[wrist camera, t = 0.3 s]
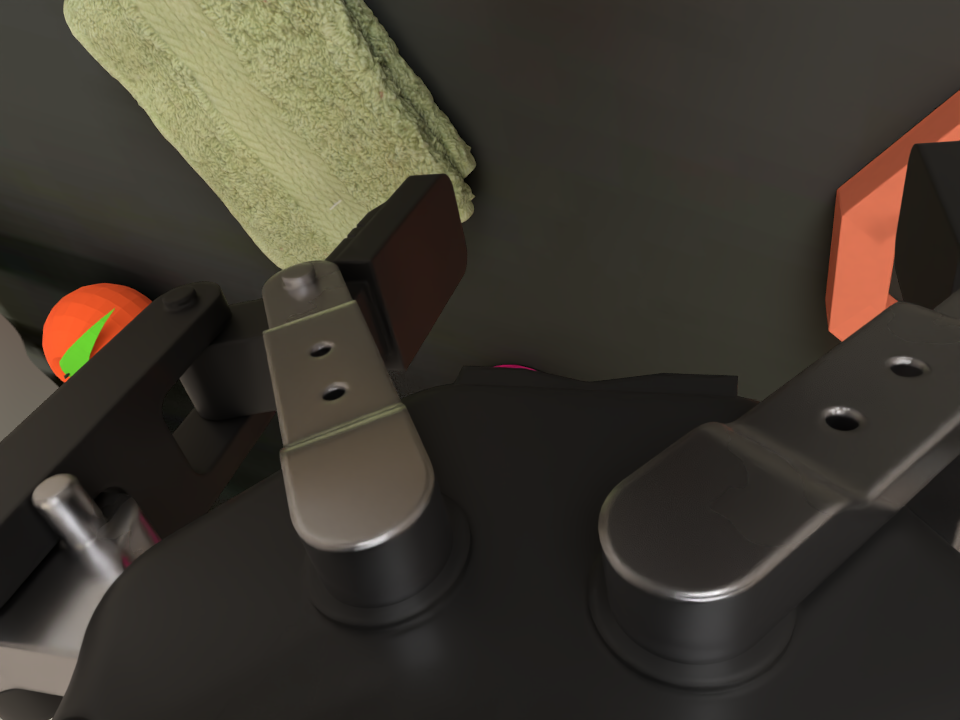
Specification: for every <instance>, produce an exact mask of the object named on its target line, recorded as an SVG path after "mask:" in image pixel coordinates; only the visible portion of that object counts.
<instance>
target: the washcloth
mask: <svg viewBox="0 0 960 720" xmlns="http://www.w3.org/2000/svg"><path fill="white" fill-rule="evenodd" d="M63 9H64V16H65V19H66V22H67V24H68V26H69V28H70V30H71V31H72V34H73V35H74V36H75V38H76V39H78V40H79V42H80V43H81V44H82V45H83V46H84V47H85V49H86V50H87V51H88V52H89V53H90V54H91V55H92V56H93V57H94V58H95V59H96V60H97V61H98V62H99V63H100V65H101V66H102V67H103V68H104V69H106V70H107V71H108V72H109V74H110V75H111V76H113V77H114V78H115V79H117V80H118V81H119V82H120V83H121V84H122V85H123V86H124V87H125V88H126V89H127V90H128V91H129V92H130V93H131V94H132V96H133V98H134V99H136V100H137V102H138V105H140V106H141V107H142V108H143V109H144V110H145V111H146V112H147V114H148V115H149V117H150V118H151V120H152V121H153V123H154V125H155V126H156V127H157V128H158V130H159V131H160V132H161V134H162V135H163V136H164V137H165V138H166V139H167V140H168V141H169V142H170V143H171V144H172V145H173V146H174V147H175V148H176V149H177V150H178V151H179V152H180V154H181V155H182V156H183V157H184V158H185V160H186V161H187V162H188V163H189V164H190V165H191V166H192V168H193V169H194V170H195V171H196V172H197V173H198V174H199V175H200V176H201V177H202V178H203V179H204V181H205V182H206V183H207V184H208V185H209V186H210V187H211V188H212V190H213V191H214V192H215V193H216V194H217V195H218V196H219V197H220V199H221V200H222V201H223V202H224V204H225V205H226V207H227V208H228V209H229V211H230V212H231V214H232V215H233V216H234V217H235V218H236V219H237V220H238V222H239V223H240V224H241V225H242V227H243V228H244V230H245V231H246V232H247V234H248V235H249V236H250V237H251V238H252V240H253V241H254V242H255V244H256V245H257V246H258V247H259V248H260V249H261V250H262V252H263V253H264V254H265V255H266V256H267V257H268V258H269V259H270V260H271V261H272V262H273V263H274V264H276V265H277V266H278V267H279V268H281V269H286V268H288V267H290V266H293V265H296V264H299V263H303V262H307V261H314V260H325V259H326V258H327V257H328V256H329V255H330V254H331V253H332V251H333V250H334V249H335V248H336V247H337V246H338V245H339V244H340V243H341V242H342V240H343V239H344V238H347V235H348V234H349V233H350V232H351V231H352V229H353V228H357V226H356V225H357V224H358V223H359V222H360V221H361V220H362V218H363V217H364V216H365V215H366V214H367V213H368V212H369V211H371V210H373V209H374V208H376V207H378V206H379V205H381V204H383V203H384V202H386V201H387V200H388V199H389V198H390V197H391V195H392V194H393V193H394V192H395V191H396V190H397V189H398V188H399V186H400V185H401V184H402V183H403V182H404V181H405V180H406V179H407V178H408V177H409V176H411V175H427V174H442V173H444V174H447V175H448V176H449V178H450V180H451V182H452V185H453V188H454V192H455V197H456V201H457V206H458V210H459V215H460V219H461V223H462V222H464V221H466V220H467V219H469V218H470V217H471V215H472V214H473V212H474V205H473V203H472V202H471V200H472V199H473V198H474V197H475V196H474V195H473V194H472V190H471V188H470V187H469V186H468V184H466V183H464V182H463V179H464V178H465V177H467V175H468V174H469V173H471V172H472V171H473V169H474V168H475V166H476V162H475V159H474V157H473V156H472V154H471V153H470V150H471V147H470V146H468V145H466V143H465V141H464V140H462V139H461V138H460V136H459V135H458V133H457V130H456V129H455V128H454V126H453V125H452V123H451V122H450V121H449V118H448V117H447V116H446V115H445V114H444V113H443V111H441V110H439V108H438V106H437V104H436V103H434V102H433V97H432V95H431V92H430V91H429V90H428V89H427V87H426V85H424V84H423V81H422V80H421V78H420V77H418V76H416V75H415V74H414V72H413V70H412V69H411V68H410V67H409V66H408V64H407V63H406V61H405V60H404V59H403V58H402V57H401V56H400V55H399V54H398V50H399V49H398V48H397V47H396V44H395V43H394V41H393V40H392V39H391V38H389V37H388V33H387V32H386V30H385V29H384V27H383V26H382V25H381V24H380V23H379V22H378V18H377V17H375V16H374V15H373V12H372V10H370V9H369V8H368V6H367V5H366V4H365V3H364V1H363V0H65V1H64V7H63Z"/></svg>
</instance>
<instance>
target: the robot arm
mask: <svg viewBox="0 0 960 720" xmlns="http://www.w3.org/2000/svg"><path fill="white" fill-rule="evenodd" d="M356 226H357V228H353V229H352V231H351V232H350V233H349V234H348V235H347V238H344V239H343V240H342V242H341V243H340V244H339V245H338V246H337V247H336V248H335V249H334V250H333V251H332V253H331V254H330V255H329V256H328V257H327V258H326V259H325V260H314V261H307V262H303V263H299V264H296V265H293V266H290V267H288V268H286V269H283V270H282V271H280V272H278V273H276V274H275V275H273V276H272V277H271V278H270V279H268V281H267V282H266V283H265V284H264V286H263V288H262V296H263V298H262V299H257V300H252V301H247V302H242V303H236V304H231V305H228V303H227V301H226V299H225V297H224V295H223V292H222V290H221V288H220V286H219V285H218V284H216V283H213V282H196V283H190V284H187V285H183V286H179V287H176V288H174V289H172V290H170V291H168V292H166V293H164V294H163V295H161V296H159V297H158V298H156V299H155V300H154V301H152V302H151V303H150V304H149V305H148V306H147V307H146V308H145V309H144V310H143V311H141V312H140V313H139V314H138V315H137V316H136V317H135V318H134V319H133V320H132V321H131V322H130V323H129V324H127V325H126V326H125V327H124V328H123V329H122V330H121V331H120V332H119V333H118V334H117V335H116V336H114V337H113V338H112V339H111V340H110V341H109V342H108V343H107V344H106V345H105V346H104V347H103V348H102V349H100V350H99V351H98V352H97V353H96V354H95V355H94V356H93V357H92V358H91V359H90V360H89V361H88V362H86V363H85V364H84V365H83V366H82V367H81V368H80V369H79V370H78V371H77V372H76V373H75V374H73V375H72V376H71V377H70V378H69V379H68V380H67V381H66V382H65V383H64V384H63V385H62V386H61V387H59V388H58V389H57V390H56V391H55V392H54V393H53V394H52V395H51V396H50V397H49V398H48V399H47V400H45V401H44V402H43V403H42V404H41V405H40V406H39V407H38V408H37V409H36V410H35V411H34V412H32V414H31V415H29V416H28V417H27V418H26V419H25V420H24V421H23V422H22V423H21V424H20V425H18V426H17V427H16V428H15V429H14V430H13V431H12V432H11V433H10V434H9V435H8V436H7V437H5V438H4V439H3V440H2V441H1V442H0V718H2V719H3V720H49V719H51V718H52V720H960V141H946V142H931V143H916V144H914V145H913V147H912V149H911V152H910V155H909V159H908V165H907V171H906V177H905V183H904V189H903V195H902V201H901V207H900V214H899V220H898V226H897V232H896V239H895V270H896V274H897V278H898V282H899V285H900V289H901V293H902V297H903V300H904V301H898V302H896V303H894V304H892V305H891V306H889V307H888V308H887V309H885V310H884V311H883V312H881V313H880V314H879V315H877V316H876V317H875V318H873V319H872V320H871V321H869V322H868V323H866V324H865V325H864V326H862V327H861V328H860V329H858V330H857V331H856V332H854V333H853V334H852V335H850V336H849V337H848V338H846V339H845V340H844V341H842V342H841V343H840V344H838V345H837V346H835V347H834V348H833V349H831V350H830V351H829V352H827V353H826V354H825V355H823V356H822V357H821V358H819V359H818V360H817V361H815V362H814V363H813V364H811V365H810V366H809V367H807V368H806V369H804V370H803V371H802V372H800V373H799V374H798V375H796V376H795V377H794V378H792V379H791V380H790V381H788V382H787V383H786V384H784V385H783V386H782V387H780V388H779V389H778V390H776V391H775V392H774V393H772V394H771V395H769V396H768V397H767V398H765V399H764V400H763V401H761V402H758V401H755V400H752V399H748V398H744V397H740V396H737V385H738V376H727V375H700V374H673V373H660V374H652V375H644V376H636V377H628V378H619V379H611V380H603V381H594V382H585V381H580V380H575V379H571V378H566V377H562V376H557V375H553V374H548V373H544V372H539V371H535V370H530V369H526V368H508V367H480V366H463V367H462V369H461V371H460V373H459V375H458V377H457V379H456V381H455V383H453V384H446V385H442V386H437V387H433V388H429V389H426V390H423V391H419V392H417V393H414V394H412V395H409V396H407V397H405V398H402V399H400V398H399V395H398V393H397V391H396V389H395V386H394V384H393V382H392V380H391V377H390V375H389V373H388V371H403V372H406V370H407V368H408V367H409V365H410V363H411V362H412V360H413V358H414V357H415V355H416V353H417V352H418V350H419V348H420V347H421V345H422V343H423V342H424V340H425V338H426V337H427V335H428V334H429V332H430V330H431V329H432V327H433V325H434V324H435V322H436V320H437V319H438V317H439V315H440V314H441V312H442V310H443V309H444V307H445V305H446V304H447V302H448V300H449V299H450V297H451V295H452V294H453V292H454V290H455V289H456V287H457V285H458V284H459V282H460V281H461V279H462V277H463V275H464V273H465V270H466V265H467V247H466V242H465V237H464V233H463V228H462V224H461V219H460V215H459V210H458V206H457V201H456V197H455V192H454V188H453V185H452V182H451V180H450V178H449V176H448V175H447V174H444V173H442V174H427V175H411V176H409V177H408V178H407V179H406V180H405V181H404V182H403V183H402V184H401V185H400V186H399V188H398V189H397V190H396V191H395V192H394V193H393V194H392V195H391V197H390V198H389V199H388V200H387V201H386V202H384V203H383V204H381V205H379V206H378V207H376V208H374V209H373V210H371V211H369V212H368V213H367V214H366V215H365V216H364V217H363V218H362V220H361V221H360V222H359V223H358V224H357V225H356ZM178 379H180V381H181V382H182V384H183V386H184V388H185V390H186V392H187V393H188V395H189V397H190V399H191V401H192V402H193V404H194V406H195V407H194V409H193V410H192V411H191V412H190V414H189V415H188V416H187V417H186V418H185V420H184V421H183V422H182V423H181V424H180V426H179V427H178V428H177V429H176V431H175V432H174V433H173V434H172V433H171V431H170V430H169V428H168V426H167V425H166V423H165V421H164V418H163V414H162V404H163V400H164V397H165V395H166V393H167V392H168V391H169V389H170V388H171V387H172V386H173V385H174V384H175V383H176V382H177V380H178ZM275 410H277V413H278V418H279V424H280V429H281V434H282V440H283V446H284V448H283V449H281V450H280V460H281V466H282V469H281V470H279V471H277V472H275V473H274V474H272V475H270V476H269V477H267V478H265V479H264V480H262V481H260V482H259V483H257V484H255V485H254V486H252V487H250V488H248V489H247V490H245V491H243V492H242V493H240V494H238V495H237V496H235V497H233V498H232V499H230V500H228V501H226V502H225V503H223V504H221V505H220V506H218V507H216V508H215V509H213V510H211V511H210V512H208V511H209V510H210V508H211V507H212V505H213V504H214V502H215V501H216V500H217V498H218V497H219V495H220V494H221V492H222V491H223V489H224V488H225V486H226V485H227V484H228V482H229V481H230V479H231V478H232V476H233V475H234V473H235V472H236V470H237V469H238V468H239V466H240V465H241V463H242V462H243V460H244V459H245V457H246V456H247V454H248V453H249V452H250V450H251V449H252V447H253V446H254V444H255V443H256V441H257V440H258V438H259V437H260V435H261V434H262V433H263V431H264V430H265V428H266V427H267V425H268V424H269V422H270V421H271V419H272V418H273V416H274V413H275Z"/></svg>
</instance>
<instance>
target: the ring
mask: <svg viewBox="0 0 960 720" xmlns="http://www.w3.org/2000/svg"><path fill="white" fill-rule="evenodd" d="M946 141H960V90H959V91H958V92H956V93H955V94H954V95H953V96H952V97H950V98H949V99H948V100H947V101H945V102H944V103H943V104H942V105H940V106H939V107H938V108H937V109H936V110H934V111H933V112H932V113H931V114H929V115H928V116H927V117H926V118H924V119H923V120H922V121H921V122H920V123H918V124H917V125H916V126H915V127H913V128H912V129H911V130H910V131H908V132H907V133H906V134H905V135H904V136H902V137H901V138H900V139H899V140H897V141H896V142H895V143H894V144H892V145H891V146H890V147H889V148H887V149H886V150H885V151H884V152H883V153H881V154H880V155H879V156H878V157H876V158H875V159H874V160H873V161H871V162H870V163H869V164H868V165H867V166H865V167H864V168H863V169H862V170H860V171H859V172H858V173H857V174H855V175H854V176H853V177H852V178H851V179H849V180H848V181H847V182H846V183H844V184H843V185H842V186H841V187H839V189H837V194H836V204H835V213H834V223H833V232H832V241H831V251H830V260H829V269H828V279H827V288H826V298H825V303H826V311H827V320H828V329H829V332H831V333H832V334H833V335H834V336H836V337H837V338H838V339H839V340H840V341H844V340H845V339H846V338H848V337H849V336H850V335H852V334H853V333H854V332H856V331H857V330H858V329H860V328H861V327H862V326H864V325H865V324H866V323H868V322H869V321H871V320H872V319H873V318H875V317H876V316H877V315H879V314H880V313H881V312H883V311H884V310H885V309H887V308H888V307H889V306H891V305H892V304H894V303H896V302H898V301H897V300H895V299H894V298H893V297H892V296H891V295H890V294H888V292H889V286H890V280H891V274H892V268H893V262H894V256H895V239H896V232H897V226H898V220H899V214H900V207H901V201H902V195H903V189H904V183H905V177H906V171H907V165H908V159H909V155H910V152H911V149H912V147H913V145H914V144H916V143H931V142H946Z"/></svg>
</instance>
